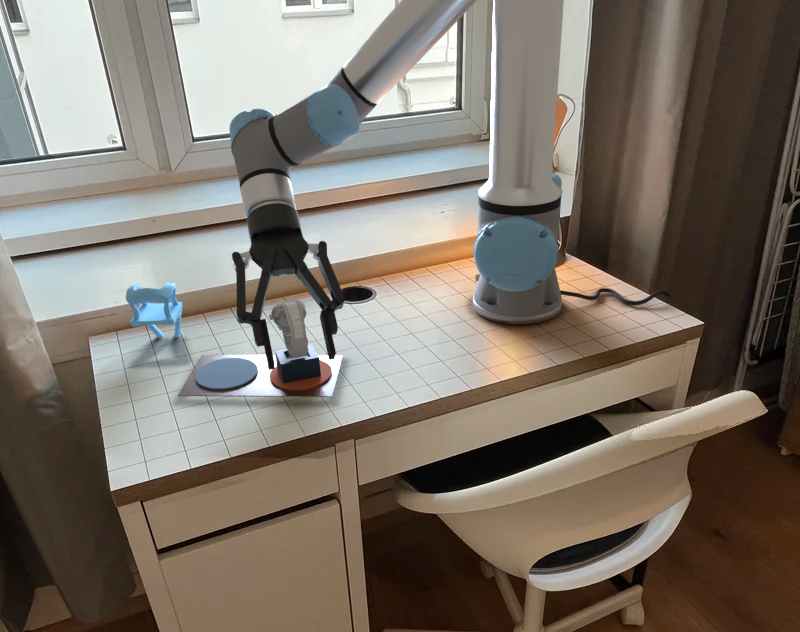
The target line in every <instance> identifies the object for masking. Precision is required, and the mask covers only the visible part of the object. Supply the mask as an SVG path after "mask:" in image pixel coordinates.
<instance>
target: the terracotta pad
mask: <svg viewBox="0 0 800 632" xmlns="http://www.w3.org/2000/svg"><path fill="white" fill-rule="evenodd" d="M319 361H320V371H321V376H319V377H314V378H309V379H304V380H299V381H294V382H288V383H283V381H282V379H281V377H280V374H279V372H278V369H277V366H276V367H275V368H274V369H273V370H272V371H271V373H270V380H271V382H272V383H273V384H274V385H275V386H277V387H279V388H281V389H285V390H294V391H298V390H307V389H312V388H315V387H318V386H320V385H322V384H324V383H325V382H326V381H328V380H329V378H330V377H331V374H332V370H331V367H330V366H329V365H328V364H327V363H326V362H324V361H322V360H319Z"/></svg>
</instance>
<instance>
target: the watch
mask: <svg viewBox="0 0 800 632" xmlns="http://www.w3.org/2000/svg"><path fill="white" fill-rule="evenodd" d="M268 317H269V320H270V321H273V322H274V323H275V325H276V326H277V328H278V331H281V333H282V337H283V341H284V345H285V347H286V348H282V349H277V350H274V355H276V362H277V369H278V372H279V374H280V377H281V379H282V381H283V383H288V382H294V381H299V380H304V379H309V378H314V377H319V376H321V371H320V361H319V356H318V355H319V354H318V353H317V350H316V349H315V347H314V345H313V343H310V344H309V339H308V337H307V329H306V323H305V318H306V317H307V310H306V305H305V303H304V302H302V301H301V300H298V299H285V300H283V301H281V302H278V303H277V304H276V305H274V307H273V308H272V309H271V314H269V315H268Z"/></svg>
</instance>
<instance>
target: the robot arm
mask: <svg viewBox="0 0 800 632" xmlns="http://www.w3.org/2000/svg"><path fill="white" fill-rule="evenodd" d="M477 1H478V0H400V1H399V2H398V4H396V6H395V7H394V8H393V9H392V11H390V13H388V15H387V16H386V17H385V18H384V19H383V20H382V21H381V23H380V24H379V25H378V26H377V28H376V29H374V30H373V32H372V33H371V34H370V35H369V36H368V37H367V39H366V40H365V41H364V42H363V43H362V44H361V45H360V47H359V48H357V50H356V51H355V52H354V53H353V54H352V55H351V57H349V59H348V60H347V61H346V62H345V63H344V64H343V65H342V67H341V68H340V69H338V71H337V72H336V73H335V74H334V75H333V77H332V78H331V79H330V80H329V81H328V82H327V83H326V84H325V85H324V86H323V87H321V88H320V89H317V90H316V91H313V92H311V94H310V95H307V96H306V97H305V98H303V99H301V100H299V101H297V102H296V103H293V104H292V105H291V106H289V107H287V108H286V109H284V110H282V111H281V112H279V113H277V114H274V113H273V112H272V111H270V110H268V109H264V108H259V107H255V108H252V110H246V109H245V110H243V111H240V112H238V113H237V114H236V115H234V116H233V118H232V120H231V121H230V123H229V136H230V137H229V138H230V151H231V154H232V156H233V161H234V165H235V168H236V169H235V170H236V173H237V178H238V183H239V189H240V190H239V191H240V195H241V200H242V205H243V211H244V215H245V217H246V225H247V232H248V237H249V241H250V247H249V250H248V251H244V252H241V253H240V252H239V251H233V253H232V254H231V261H232V262H231V263H232V266H233V268H234V270H235V274H236V276H235V277H236V281H235V282H236V320H237V323H238V324H241V325H242V324H248V325H250V326H251V328H252V333H253V338H254V339H253V340H254V344H255V345H256V347H257V348H259V347H263V348H264V353H265V355H266V358H267V363H268V368H269V370H271V369H274V359H273V355H274V354H273V350H272V349H273V348H272V343H271V339H270V335H269V330H268V324H267V320H266V318H263V319H262V315H263V312H264V311H263V310H264V307H265V303H266V300H267V299H266V298H267V294H268V291H269V287H270V284H271V280H272V277H273V278H274V277H275V278H276V277H281V276H282V275H290V276H291V275H295V277H296V278H297V279H298V280H300V282H301V283H302V284H303V286H304V287H305V289H306V290H307V292H308V293H309V295H311V297H312V298H313V300H314V301H315V302H316V304H317V305H318V307H319V308H320V309H321V310H320V314H319V320H320V325H321V330H322V334H323V338H324V343H325V349H326V353H327V355H328V357H329V360H331V359H334V358H335V355H337V350H336V346H335V342H334V338H333V335H337V333H338V330H339V327H338V321H337V317H336V311H339V310H341V309H343V308H344V304H345V302H346V301H345V300H346V298H345V295H344V293H343V290H342V288H341V285H340V283H339V281H338V278H337V276H336V274H335V271H334V269H333V267H332V264H331V261H330V259H329V255H328V244H327V242H326V241H325V240H320V241H319V242H318V243H309V242H308V241H307V240H306V239H305V237H304V235H303V230H302V225H301V221H300V217H299V212H298V210H297V203H296V199H295V194H294V193H295V192H294V189H293V185H292V180H291V175H290V174H291V173H290V170H291V169H293V168H295V167H298V166H299V165H301V164H302V163H305V162H307V161H308V160H310V159H313V158H315V157H317V156H318V155H322V154H323V153H324V152H327V151H329V150H331V149H333V148H335V147H340V146H342V145H343V144H344V143H345V142H347V141H348V140H350V139H351V138H354V137H356V135H357V134H358V133H359V131H360V125H361V124H362V123H363V122H364V121H365V119H366V118H367V117H368V115H369V114H370V113H371V112H372V111H373V110H374V109H375V108H376V106H377V105H378V104H379V103H380V102H381V101H383V99H384V98H385V97H386V96H387V95H388V94H389V93H390V92H391V91H392V90H393V89H394V87H395V86H396V85H398V83H399V82H400V81H401V80H402V79H403V78H405V76H406V75H407V74H408V73H409V72H411V70H412V69H413V68H414V67H415V66H416V65H417V64H418V63H419V61H420V60H422V59H423V58H424V56H425V55H426V54H427V53H428V52H429V51H430V50H431V49H432V48H433V47H434V46H435V45H436V44H437V43H438V42H439V41H440V40H441V39H442V38H443V36H444V35H446V34H447V32H449V30H450V29H451V28H453V26H454V25H455V24H456V23H457V22H458V21H459V20H460V19H461V18H462V17H463V16H464V15H465V14H466V12H468V11H469V9H470V8H472V6H473V5H475V3H476V2H477ZM492 1H493V3H492V5H493V6H492V44H491V45H492V47H491V50H492V51H491V91H490V92H491V93H490V94H491V96H490V98H491V99H490V136H489V137H490V140H489V177H488V180H487V181H486V182H485V183H484V184H483V185H482V186H481V187H480V188H479V189H478V195H477V196H478V200H477V201H478V202H477V236H476V238H475V242H474V244H473V257H474V263H475V266H476V268H477V271H478V273H479V274H478V273H477V274H475V277H474V279H475V281H474V282H476V285H475V288H474V291H473V295H472V308H473V310H474V311H475V312H476V313H477V314H478V315H479V316H481V317H483V318H485V319H487V320H490V321H493V322H496V323H500V324H506V325H522V326H523V325H535V324H539V323H544V322H547V321H549V320H551V319H553V318H555V317H556V316H558V315H559V313H560V312H561V310H562V302H563V301H562V300H563V299H562V296H568V297H574V298H579V299H583V300H586V301H587V300H588V301H596V300H597V299H599V297H600V295H601V293H608V294H611V295H613V296H614V297H615V298H616V299H617V300H618V301H620V302H621V303H623V304H625V305H629V306H640V305H644V304H647V303H648V302H650V301H651V300H653V299H654V298H655V297H657V296H658V295H664V296H665V297H671V296H672V295H671V294H670V292H668V290H665V289H657V290H656V291H654V292H653V293H651V294H650V295H649V296H647V297H645V298H643V299H640V300H629V299H627V298H624V297H623V296H622V295H621V294H620V293H618V292H617V290H614V289H612V288H609V287H601V288H598V289H597V290H596V292H595V295H586V294H583V293H579V292H573V291H567V290H561V288H560V284H559V279H558V276H557V271H556V268H555V266H556V265H557V263H558V261H559V253H560V247H559V234H560V221H561V209H562V208H561V205H562V195H563V190H562V187H563V185H562V184H563V183H562V178H561V176H560V175H558V174H556V173H554V172H553V163H554V149H555V148H554V147H555V134H556V117H557V105H558V90H559V75H560V74H559V73H560V61H561V47H562V46H561V45H562V30H563V28H562V27H563V16H564V1H565V0H492ZM308 253H309V254H310V255H311V256H312V258H313V260H317V266H318V268H319V271H320V273H321V275H322V278H323V280H324V283H325V285H326V287H327V290H328V292H329V295H330V297H329V296H328V294H327V293H326V292H325V290H324V289H323V288H322V286H321V284H320V283H319V282H318V280H317V279H316V278H315V276H314V275H313V274H312V272H311V271H310V269H309V268H308V264H307V263H306V262H305V259H306V257H307V254H308ZM251 261H252V262H253V263H255V264H256V265H257V266H258V267H259V268H260V269H261V272H260V277H259V281H258V285H257V289H256V293H255V296H254V302H253V305H252V309H251V311H247V285H246V283H247V281H246V279H247V276H246V269H248V268H249V266H250V262H251Z"/></svg>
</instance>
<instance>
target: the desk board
mask: <svg viewBox="0 0 800 632" xmlns="http://www.w3.org/2000/svg"><path fill="white" fill-rule="evenodd" d="M318 356H319V360H322V361H324V362H326V363H327V364H328V365H329V366H330V367H331V370H332V374H331V377H330V378H329V380H328V381H326V382H325V383H324V384H322V385H320V386H318V387H315V388H312V389H307V390H298V391H294V390H285V389H281V388H279V387H277V386H275V385H274V384H273V383H272V382H271V380H270V373H271V371H272V370H273V369H271V370H269V368H268V363H267V358H266V354H201V356H200V358H199V359H198V362H197V363H196V364H195V366H194V368H193V369H192V371H191V373H190V375H189V376H188V378H187V380H186V381H185V383H184V384H183V386H182V388H181V389H180V391H179V393H178V394H177V396H178V397H289V398H290V397H292V398H293V397H300V398H302V397H304V398H305V397H307V398H311V397H313V398H319V397H320V398H332V397H334V394H335V390H336V385H337V383H338V377H339V373H340V370H341V366H342V361H343V358H344V355H343V354H336V355H335V358H334V359H331V360H329V357H328V354H318ZM225 358H243V359H247V360H250V361H252V362H254V363H255V364H256V365H257V368H258V373H257V375H256V377H255V378H254V379H253V380H252V381H250V382H249V383H247V384H245V385H243V386H240V387H237V388H233V389H228V390H211V389H207V388H204V387H202V386H200V385H199V384H198V383H197V382H196V377H195V376H196V373H197V371H198V370H199V369H200V368H201V367H203V366H204V365H206V364H208V363H210V362H213V361H216V360H219V359H225ZM273 359H274V368H275V367H276V366H277V362H276V355H275V354H273Z"/></svg>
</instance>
